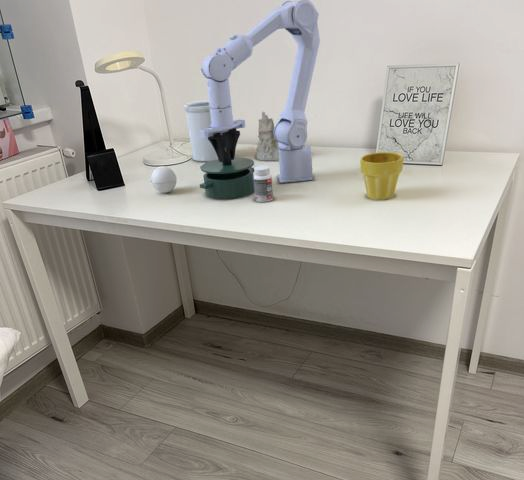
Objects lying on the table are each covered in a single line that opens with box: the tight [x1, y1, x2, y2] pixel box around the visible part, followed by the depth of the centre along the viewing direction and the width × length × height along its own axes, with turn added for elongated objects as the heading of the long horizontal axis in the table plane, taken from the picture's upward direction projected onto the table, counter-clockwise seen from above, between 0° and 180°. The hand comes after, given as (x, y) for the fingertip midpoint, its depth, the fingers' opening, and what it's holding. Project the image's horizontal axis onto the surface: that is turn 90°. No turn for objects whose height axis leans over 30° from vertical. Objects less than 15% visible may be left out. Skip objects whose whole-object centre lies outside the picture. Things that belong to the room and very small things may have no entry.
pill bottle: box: [253, 165, 274, 203], centre depth 142 cm, size 5×5×8 cm
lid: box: [200, 149, 255, 174], centre depth 148 cm, size 15×15×5 cm
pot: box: [199, 166, 255, 201], centre depth 151 cm, size 14×19×5 cm
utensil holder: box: [183, 99, 226, 162], centre depth 185 cm, size 15×15×18 cm
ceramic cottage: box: [255, 111, 279, 162], centre depth 180 cm, size 16×16×15 cm
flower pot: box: [359, 151, 404, 201], centre depth 136 cm, size 10×10×10 cm
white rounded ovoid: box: [150, 165, 178, 194], centre depth 154 cm, size 10×7×7 cm
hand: (226, 160), depth 148 cm, fingers closed on lid, 2 cm apart
